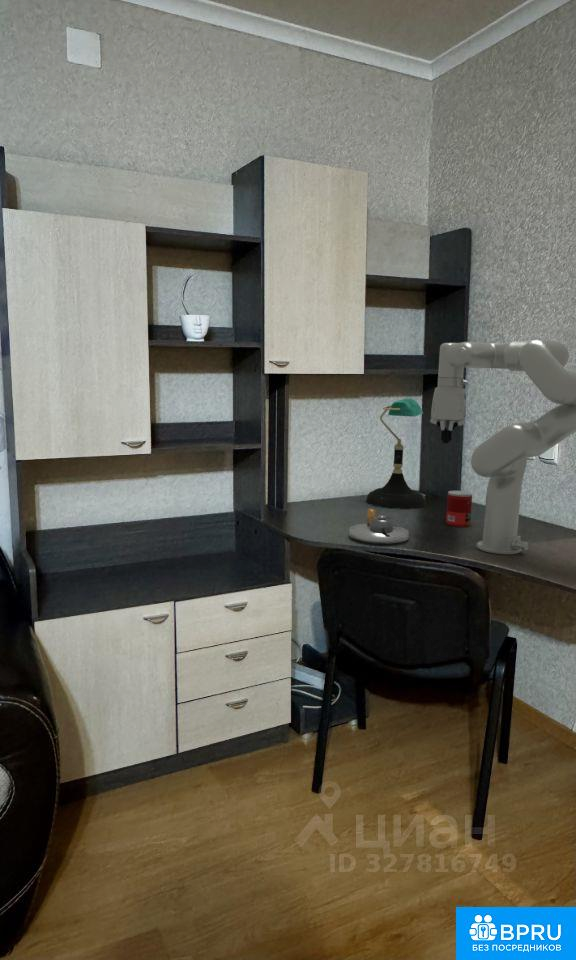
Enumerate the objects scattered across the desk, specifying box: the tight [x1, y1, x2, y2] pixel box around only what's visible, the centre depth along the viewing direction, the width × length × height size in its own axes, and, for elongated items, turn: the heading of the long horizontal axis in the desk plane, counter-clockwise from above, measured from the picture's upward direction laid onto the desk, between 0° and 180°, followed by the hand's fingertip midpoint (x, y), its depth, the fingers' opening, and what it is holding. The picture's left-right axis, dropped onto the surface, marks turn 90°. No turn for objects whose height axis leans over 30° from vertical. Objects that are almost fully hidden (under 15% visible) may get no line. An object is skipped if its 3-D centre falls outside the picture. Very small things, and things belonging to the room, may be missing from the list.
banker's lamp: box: [365, 397, 427, 510], centre depth 266 cm, size 26×23×40 cm
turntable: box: [348, 508, 409, 544], centre depth 212 cm, size 18×18×7 cm
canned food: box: [445, 490, 473, 528], centre depth 234 cm, size 8×8×11 cm
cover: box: [370, 514, 394, 533], centre depth 212 cm, size 7×7×4 cm
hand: (446, 442), depth 217 cm, fingers closed
